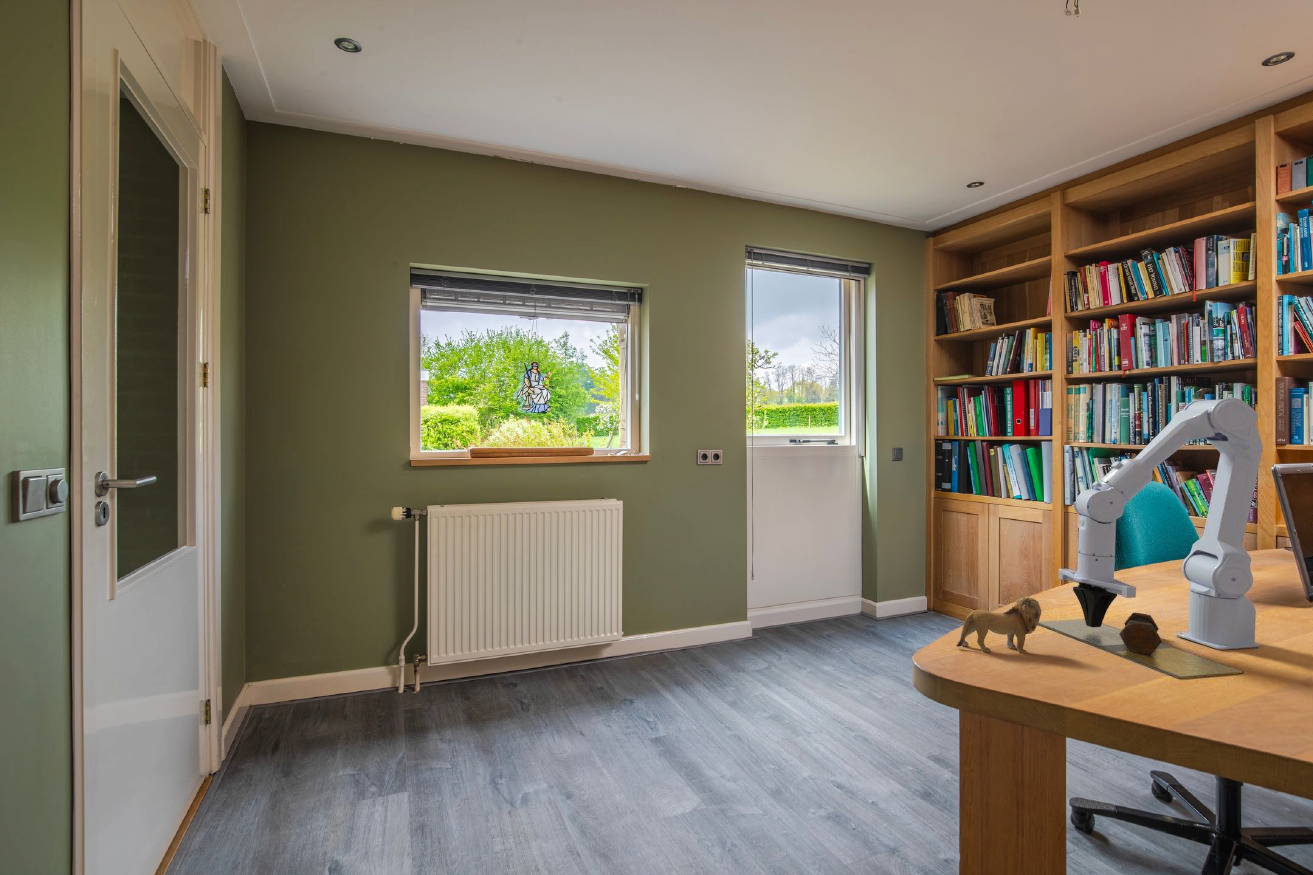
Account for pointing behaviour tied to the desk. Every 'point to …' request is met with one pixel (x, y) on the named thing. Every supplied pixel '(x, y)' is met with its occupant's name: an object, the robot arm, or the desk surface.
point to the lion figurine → (1004, 623)
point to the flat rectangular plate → (1160, 659)
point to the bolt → (1140, 634)
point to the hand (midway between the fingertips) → (1093, 626)
